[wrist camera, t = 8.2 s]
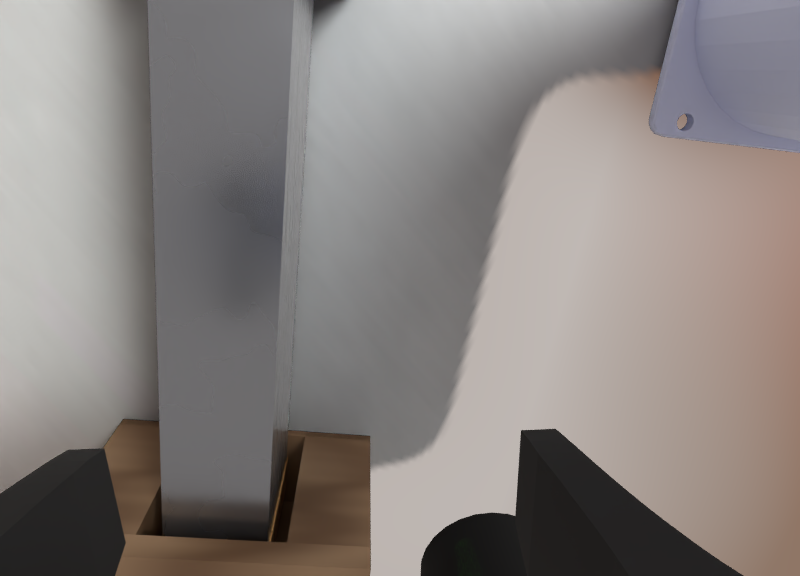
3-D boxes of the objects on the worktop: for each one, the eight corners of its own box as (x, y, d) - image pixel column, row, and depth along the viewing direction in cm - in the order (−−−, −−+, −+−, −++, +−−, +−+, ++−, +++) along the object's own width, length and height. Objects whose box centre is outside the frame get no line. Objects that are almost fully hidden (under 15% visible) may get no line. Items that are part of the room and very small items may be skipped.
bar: (319, -61, 16) (301, -107, 12) (286, 484, 22) (266, 584, 18) (202, -77, 16) (139, -131, 11) (202, 479, 22) (161, 579, 18)
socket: (370, 436, 22) (370, 568, 16) (360, 520, 24) (357, 671, 18) (123, 418, 21) (30, 552, 16) (127, 507, 23) (43, 661, 17)
